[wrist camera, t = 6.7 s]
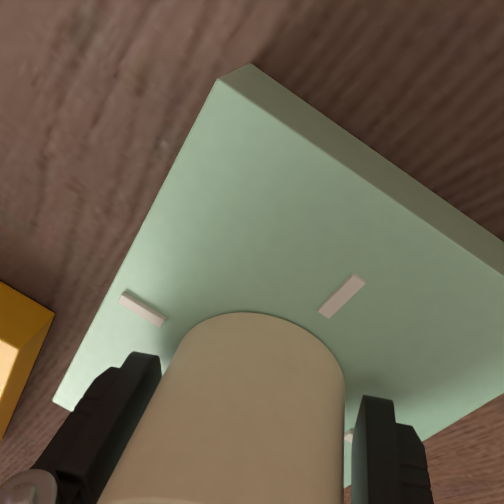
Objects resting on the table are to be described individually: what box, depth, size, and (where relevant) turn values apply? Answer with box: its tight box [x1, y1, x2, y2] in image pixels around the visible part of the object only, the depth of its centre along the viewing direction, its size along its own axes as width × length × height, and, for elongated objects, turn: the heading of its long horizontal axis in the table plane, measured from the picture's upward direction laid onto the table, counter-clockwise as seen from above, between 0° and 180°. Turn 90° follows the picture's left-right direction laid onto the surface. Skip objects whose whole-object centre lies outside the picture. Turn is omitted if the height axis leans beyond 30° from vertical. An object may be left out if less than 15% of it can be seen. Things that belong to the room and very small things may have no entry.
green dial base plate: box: [52, 63, 504, 488], centre depth 13 cm, size 13×10×3 cm
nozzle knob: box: [97, 312, 345, 504], centre depth 10 cm, size 5×5×5 cm
